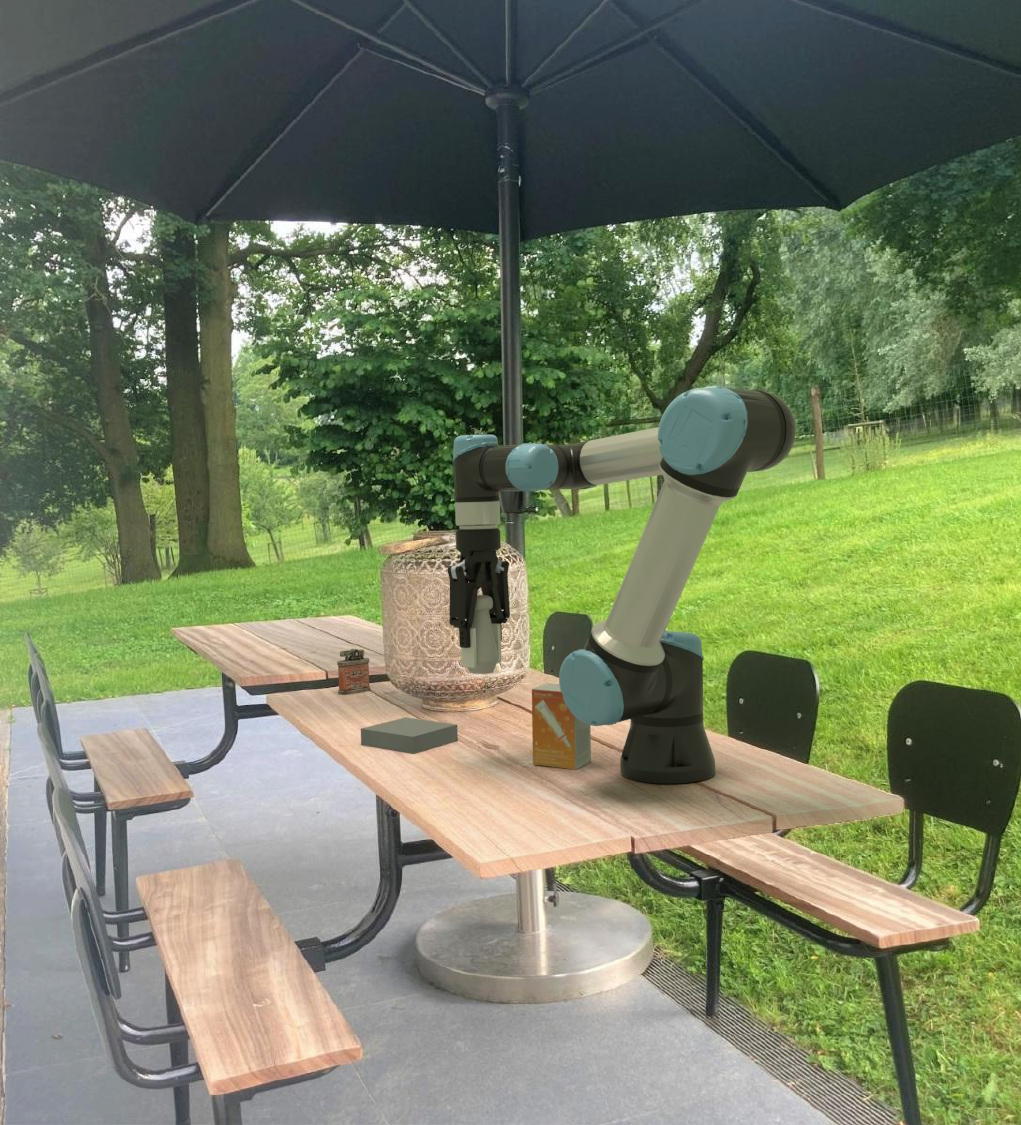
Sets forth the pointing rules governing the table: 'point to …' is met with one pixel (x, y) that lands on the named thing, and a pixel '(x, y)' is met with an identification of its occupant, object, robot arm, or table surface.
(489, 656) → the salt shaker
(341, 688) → the lighter
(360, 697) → the table surface
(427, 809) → the table surface
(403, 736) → the block
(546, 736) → the small box
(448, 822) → the table surface
